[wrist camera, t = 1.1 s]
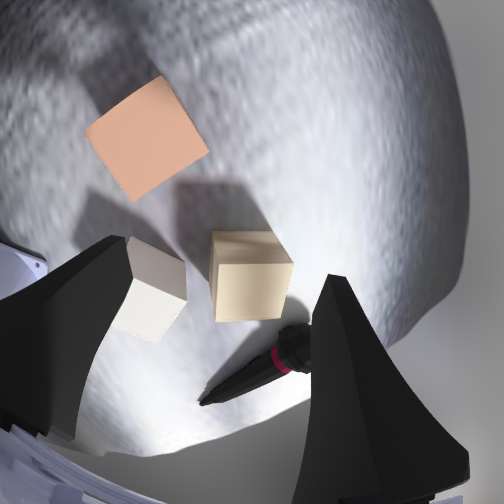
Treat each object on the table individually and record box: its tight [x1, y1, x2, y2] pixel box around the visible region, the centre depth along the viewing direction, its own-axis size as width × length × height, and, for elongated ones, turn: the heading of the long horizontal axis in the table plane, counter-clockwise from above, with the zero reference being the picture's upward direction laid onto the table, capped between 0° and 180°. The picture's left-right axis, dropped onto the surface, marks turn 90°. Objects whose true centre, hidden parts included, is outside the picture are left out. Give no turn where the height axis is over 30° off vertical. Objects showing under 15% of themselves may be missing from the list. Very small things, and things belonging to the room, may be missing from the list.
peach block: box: [83, 75, 210, 203], centre depth 14 cm, size 5×5×5 cm
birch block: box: [209, 230, 294, 322], centre depth 21 cm, size 5×5×5 cm
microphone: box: [199, 323, 311, 406], centre depth 30 cm, size 6×6×20 cm
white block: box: [110, 236, 187, 344], centre depth 20 cm, size 5×5×5 cm
